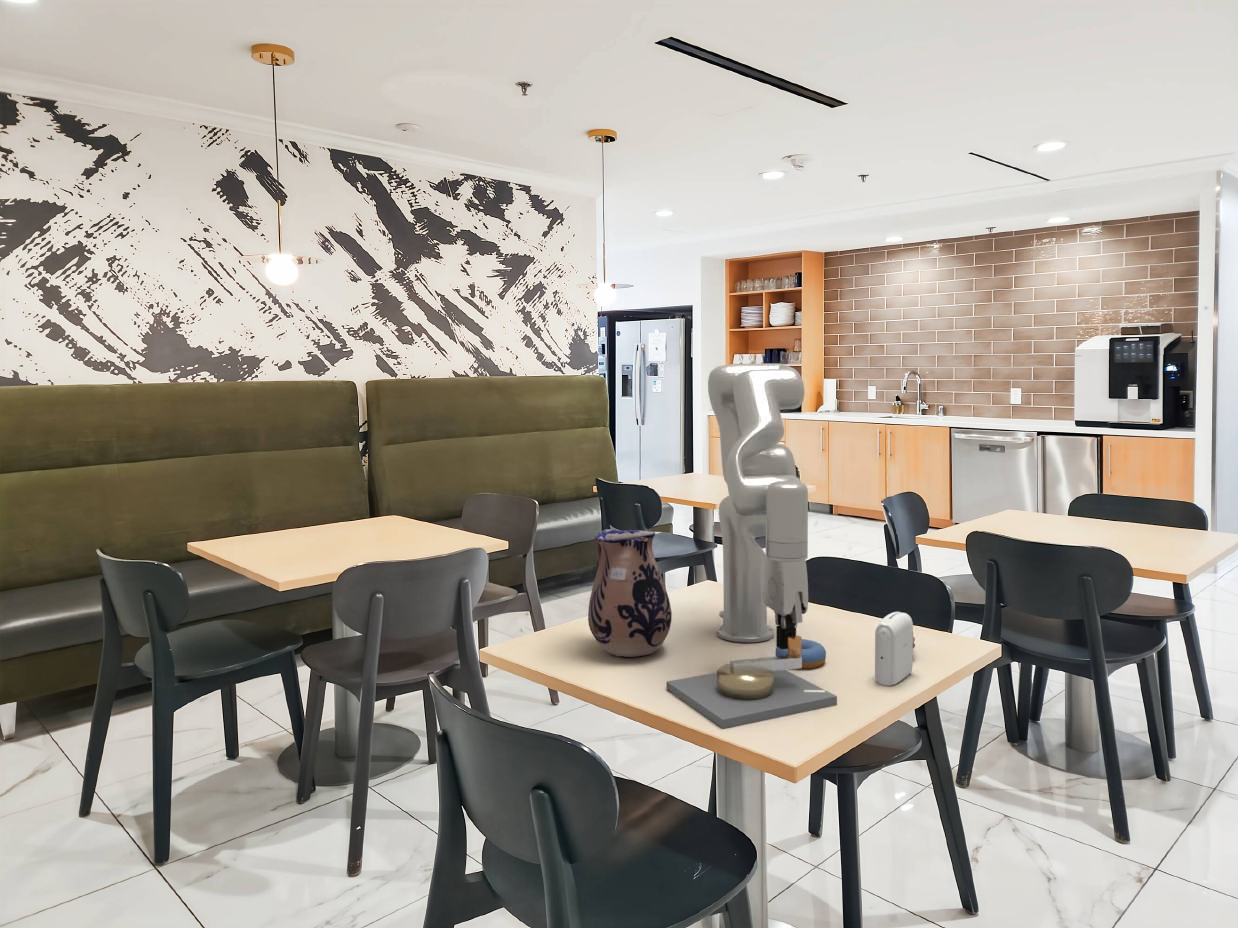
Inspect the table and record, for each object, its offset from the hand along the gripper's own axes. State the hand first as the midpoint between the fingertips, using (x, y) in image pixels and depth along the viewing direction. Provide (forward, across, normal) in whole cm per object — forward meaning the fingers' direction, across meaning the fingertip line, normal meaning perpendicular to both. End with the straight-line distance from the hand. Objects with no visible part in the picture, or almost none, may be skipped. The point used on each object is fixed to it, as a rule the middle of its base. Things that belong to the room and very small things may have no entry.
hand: (786, 647), depth 158 cm
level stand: (+7, +3, -8) cm, 12 cm away
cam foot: (+6, +3, -7) cm, 9 cm away
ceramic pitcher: (+8, -30, -23) cm, 39 cm away
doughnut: (+8, -12, +9) cm, 17 cm away
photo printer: (+8, +2, +21) cm, 23 cm away
